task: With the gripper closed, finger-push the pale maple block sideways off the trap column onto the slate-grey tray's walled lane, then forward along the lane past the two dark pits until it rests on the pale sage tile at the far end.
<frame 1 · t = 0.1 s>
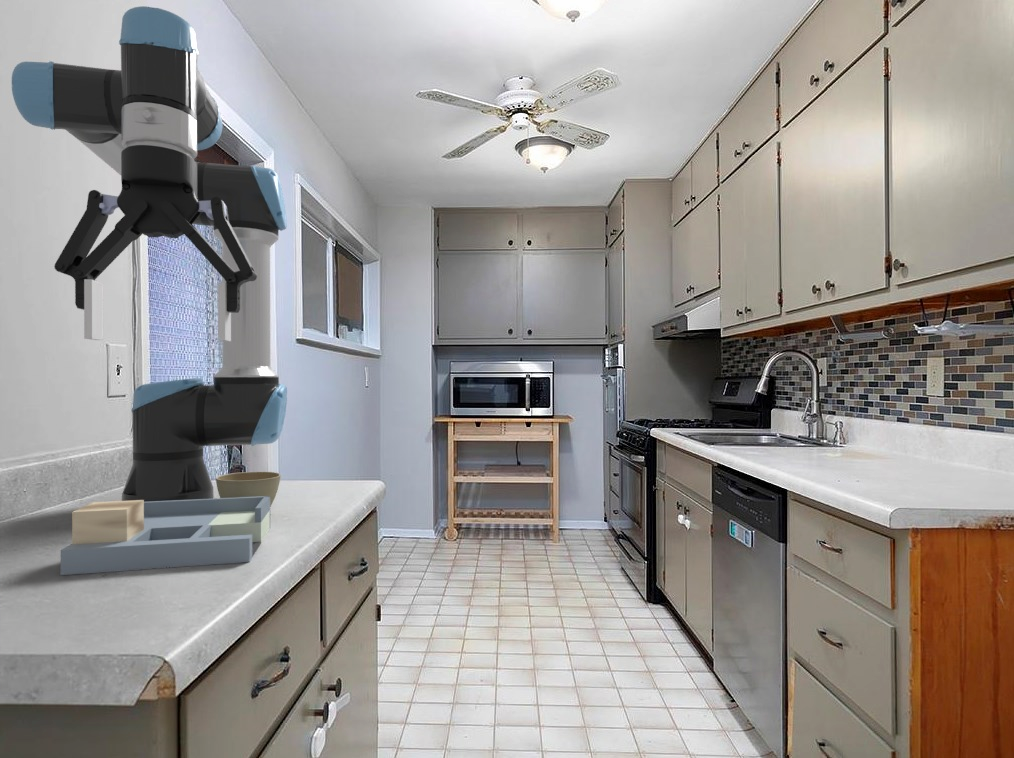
hand: (160, 340, 68), 28 cm above the worktop, fingers open, 13 cm apart
flower pot: (249, 519, 100), on the worktop
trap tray: (179, 548, 82), on the worktop
block: (109, 536, 77), point 3 cm above the worktop, touching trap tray
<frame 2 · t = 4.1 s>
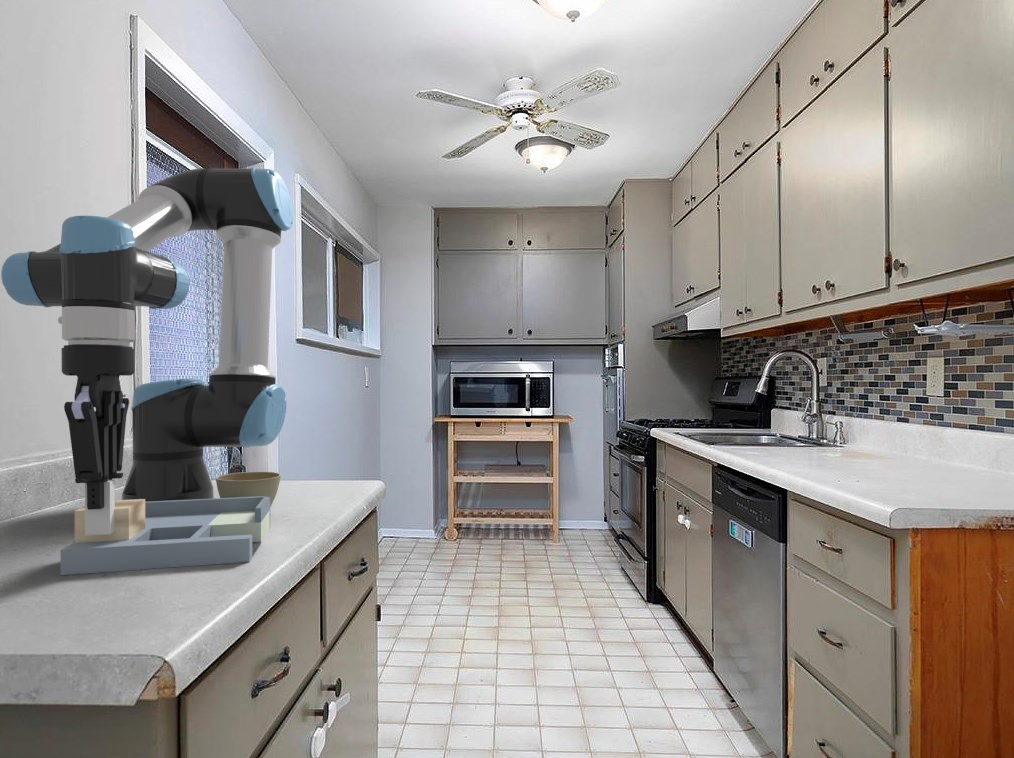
hand: (100, 533, 74), 4 cm above the worktop, fingers closed
block: (111, 535, 78), point 3 cm above the worktop, touching gripper, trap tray
everything else where it was.
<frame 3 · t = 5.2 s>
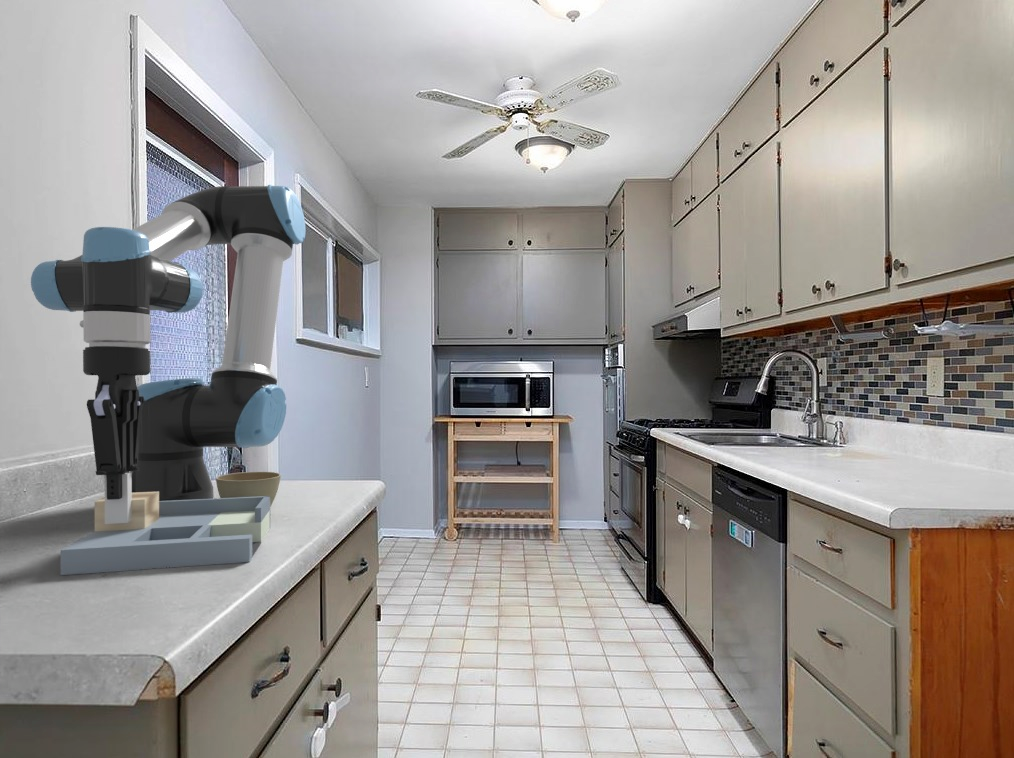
hand: (118, 521, 80), 4 cm above the worktop, fingers closed
block: (128, 524, 83), point 3 cm above the worktop, touching gripper, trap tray
everything else where it was.
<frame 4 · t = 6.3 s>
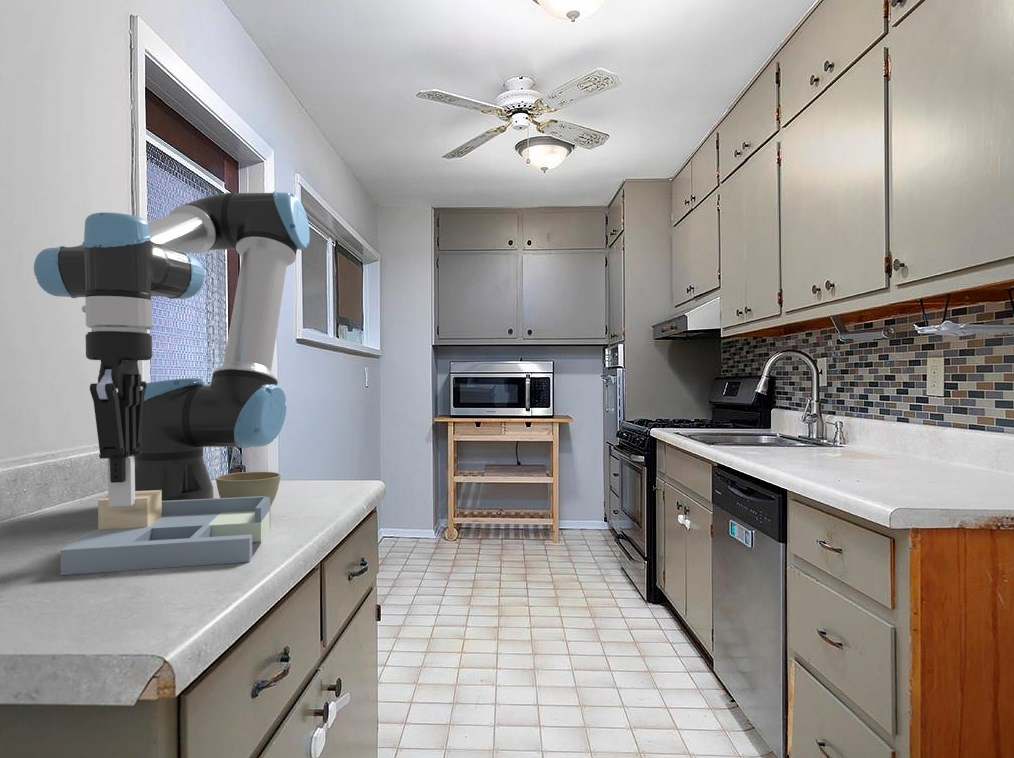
hand: (122, 504, 81), 6 cm above the worktop, fingers closed
block: (131, 523, 84), point 3 cm above the worktop, touching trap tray
everything else where it was.
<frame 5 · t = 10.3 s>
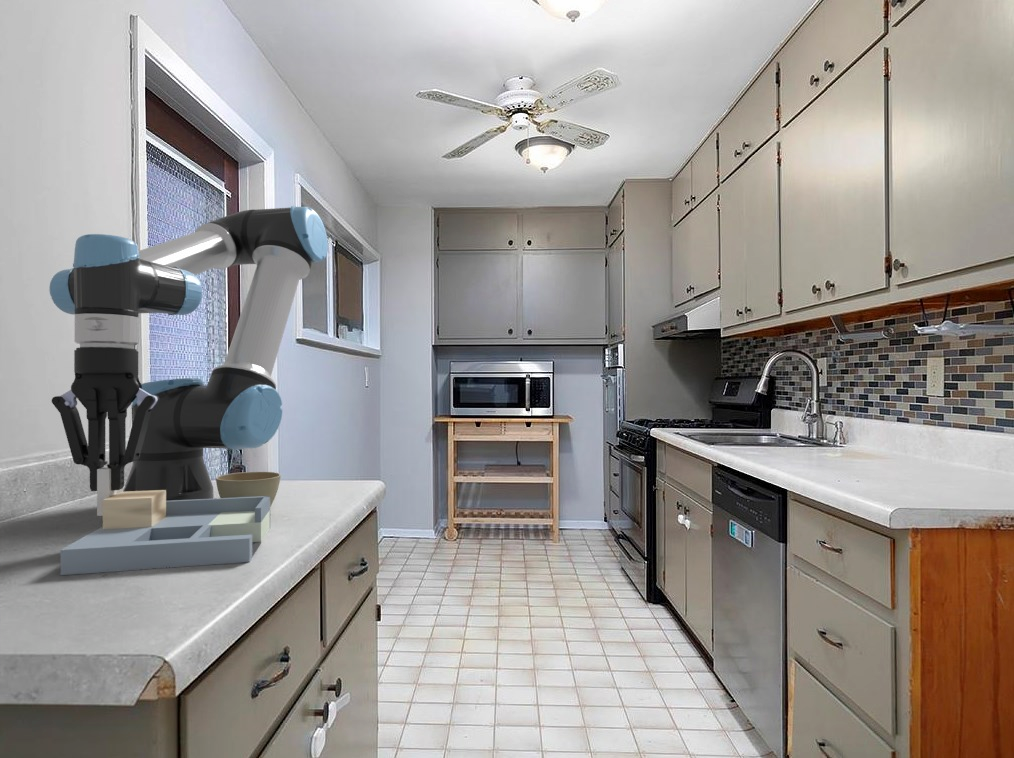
hand: (107, 513, 84), 4 cm above the worktop, fingers closed
block: (135, 522, 84), point 3 cm above the worktop, touching gripper
everything else where it was.
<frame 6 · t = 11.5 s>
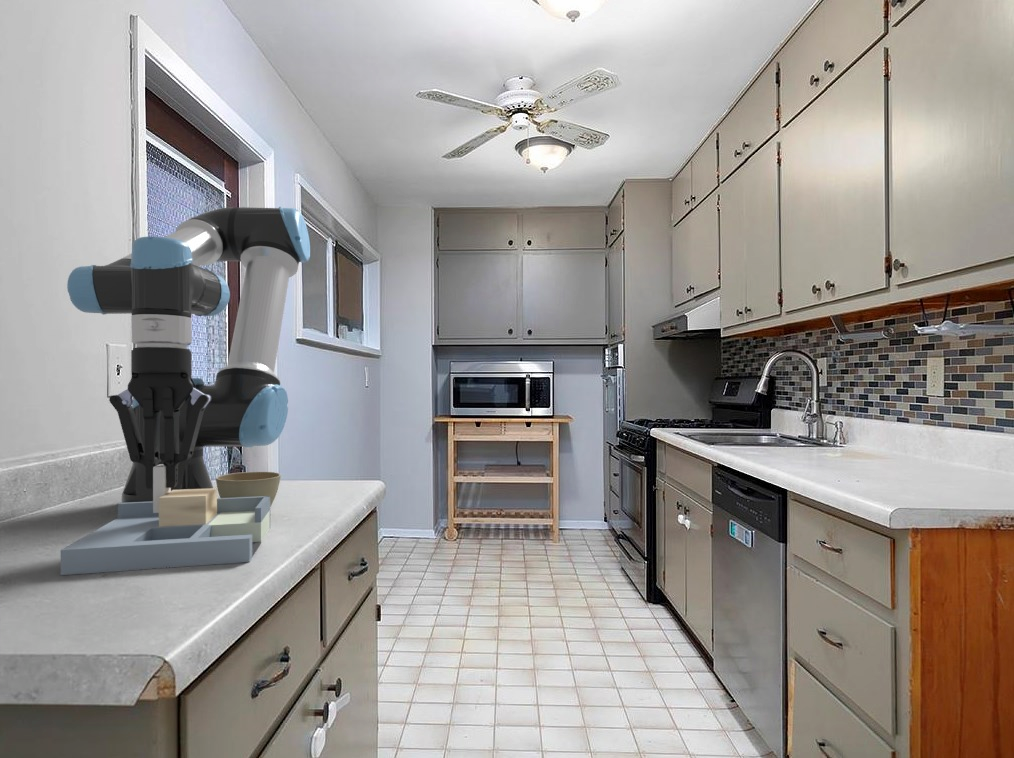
hand: (162, 510, 85), 4 cm above the worktop, fingers closed
block: (189, 520, 86), point 3 cm above the worktop, touching gripper
everything else where it was.
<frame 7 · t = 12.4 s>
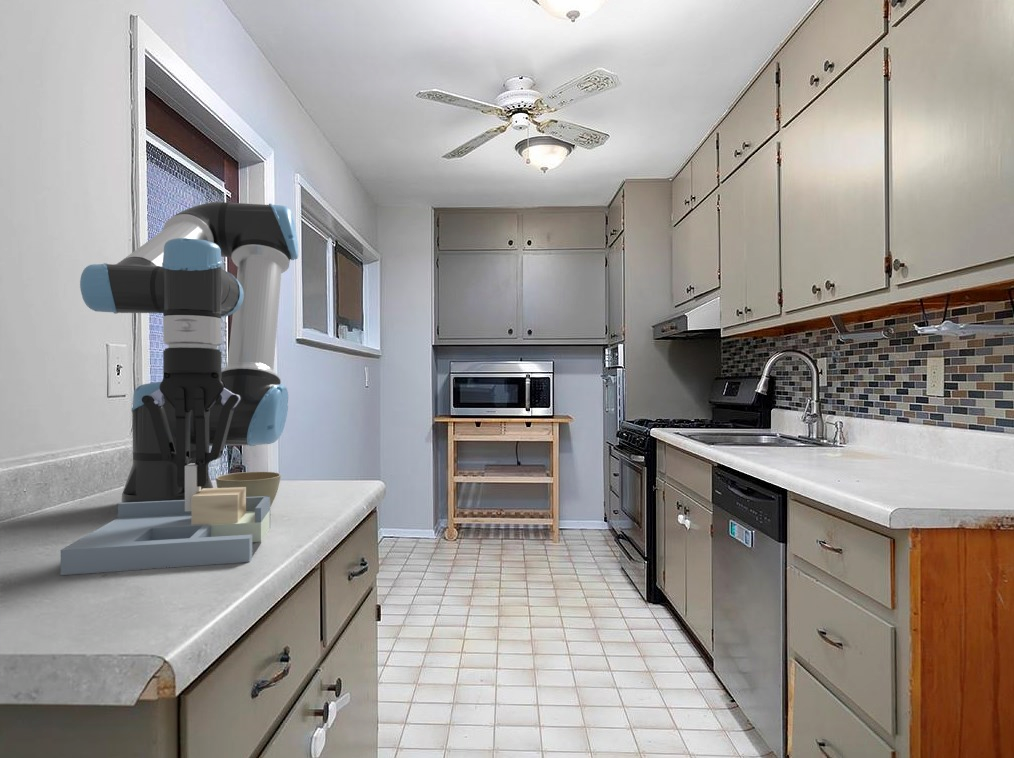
hand: (193, 509, 86), 4 cm above the worktop, fingers closed
block: (219, 518, 87), point 3 cm above the worktop, touching gripper, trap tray
everything else where it was.
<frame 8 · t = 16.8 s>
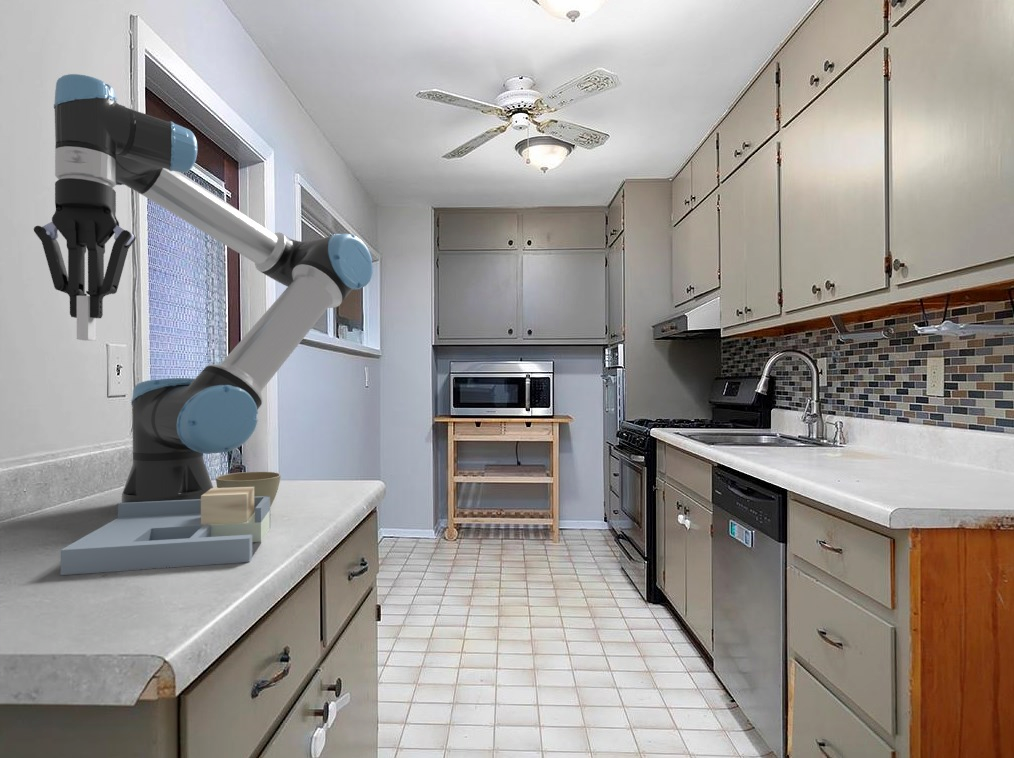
hand: (86, 339, 90), 29 cm above the worktop, fingers closed
block: (228, 518, 87), point 3 cm above the worktop, touching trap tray
everything else where it was.
at the end: block 1.2 cm from the target spot, point 3.0 cm above the worktop; block tilted 0° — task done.
